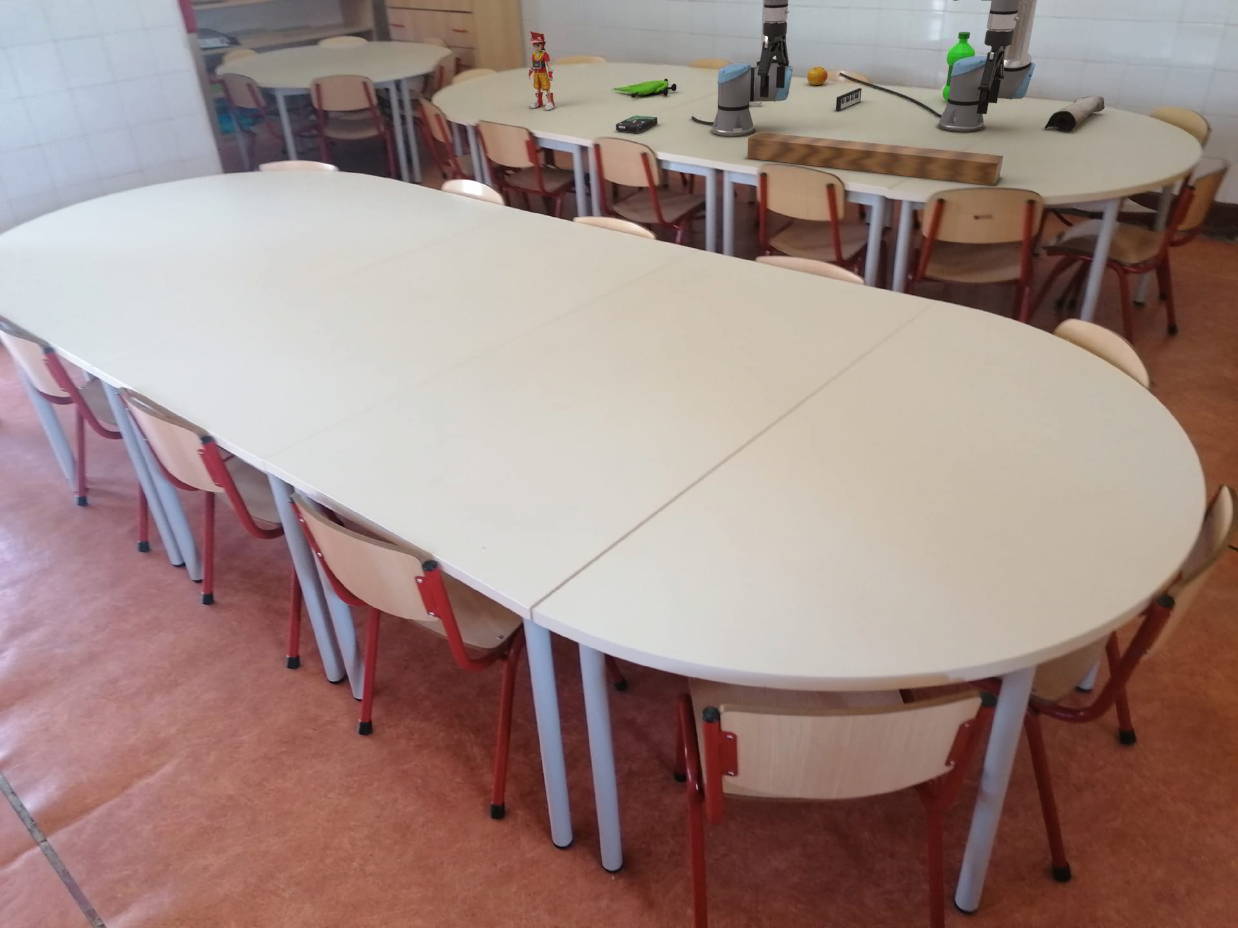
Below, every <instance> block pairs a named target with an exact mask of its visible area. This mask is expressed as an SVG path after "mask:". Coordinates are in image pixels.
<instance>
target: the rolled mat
mask: <svg viewBox="0 0 1238 928" xmlns="http://www.w3.org/2000/svg"><path fill="white" fill-rule="evenodd" d="M1105 107H1106V106H1105V98H1104V97H1103V96H1097V95H1089V96H1084V97H1079V98H1076V99H1075V100H1074V101H1073V102H1072V103H1071V104H1068V105H1067V106H1065V107H1062V108H1060V109H1059V110H1057V111H1055V112H1054V113H1053V114H1051V115H1050V117H1049V119H1048V121H1047V122H1046V124H1045V126H1044V130H1047V129H1049V128H1056V129H1057V130H1058V131H1061V132H1068V133H1069V132H1072V131H1073V130H1074V129H1076V128H1077V126H1079V125H1080V124H1081V122H1082V121H1084V120H1085V119H1086V118H1087V117H1089V116H1090V115H1091V114H1094V113H1099V112H1102V111H1104V110H1105Z"/></svg>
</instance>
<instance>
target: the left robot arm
mask: <svg viewBox="0 0 1238 928" xmlns="http://www.w3.org/2000/svg"><path fill="white" fill-rule="evenodd" d="M789 13H790V10H789V0H762V13H761V14H762V15H761V16H762V19H761V44H760V46H761V47H760V50H761V51H760V58H759V59H757V61H756V66H753V67H752V65H751V63H750V62H747V61H746V62H735V63H730V64H727V65H724V66H722V67H720V69H719V70H718V75H717V111H716V114H715V118H714V120H713V121H706V120H702V119H698V118H696V117H695V116H693V115H692V116H691V117H690V118H691V119H692V120H693V121H695V122H697V123H699V124H704V125H708V126H709V125H710V126H712V133H713V134H715V135H717V136H721V137H741V136H746V135H750V134H752V133H754V127H755V126H754V122H753V118H752V115H751V111H750V106H749V102H761V103H762V102H764V103H765V102H773V103H775V102H783V101H786V100H787V99H788V98H789V94H790V88H791V82H792V77H793V70H794V67H793V66H792V65H790V60H789V53H788V46H787V34H788V22H787V20H788V14H789Z"/></svg>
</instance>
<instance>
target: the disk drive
mask: <svg viewBox="0 0 1238 928" xmlns="http://www.w3.org/2000/svg"><path fill="white" fill-rule="evenodd" d="M657 124H658V116H650V115H648V116H647V115H646V116H645V115H638V114H637V115H633V116H631V117H628V118H626V119H624V120H621V121H619V122H617V123H615V130H616V131H617V132H624V133H634V134H639V133H642V132H644V131H646V130H647V129H649V128H650V129H651V128H653V127H654V126H656V125H657Z"/></svg>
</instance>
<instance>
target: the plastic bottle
mask: <svg viewBox="0 0 1238 928" xmlns="http://www.w3.org/2000/svg"><path fill="white" fill-rule="evenodd" d="M970 36H971V32H970V31H959V32H958V36H957V39H958V42H957V43H956V44H954V45H953V46H952V47H951V48H950V49H949V50H948V52H947V54H946V63H947V64H948V69H947V70H948V71H947V76H946V77H947V78H946V84H945V85H944V87H943V90H942V97H943V99H944V100H945V101H946V103H947V102H948V95H949V89H950V82H951V74H952V70H953V65H954V63H955V62H956V61H958V60H960V59H963V58H967V57H973V56H976V51H975V49H974V47H972V45H971V44H970V43H969V42H968V41H969V39H970V38H971V37H970Z"/></svg>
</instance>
